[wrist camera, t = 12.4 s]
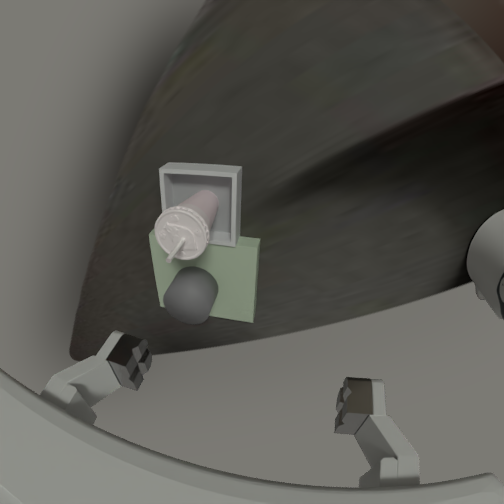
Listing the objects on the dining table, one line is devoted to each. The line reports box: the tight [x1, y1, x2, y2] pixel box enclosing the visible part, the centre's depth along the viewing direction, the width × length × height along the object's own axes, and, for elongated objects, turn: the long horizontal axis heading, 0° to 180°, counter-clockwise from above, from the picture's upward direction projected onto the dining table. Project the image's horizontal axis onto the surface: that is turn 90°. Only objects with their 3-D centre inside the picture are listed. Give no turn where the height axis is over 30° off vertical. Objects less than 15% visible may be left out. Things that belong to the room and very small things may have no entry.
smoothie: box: [155, 190, 219, 263], centre depth 35 cm, size 6×6×14 cm
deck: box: [149, 162, 260, 324], centre depth 42 cm, size 16×24×8 cm, turn 178°
